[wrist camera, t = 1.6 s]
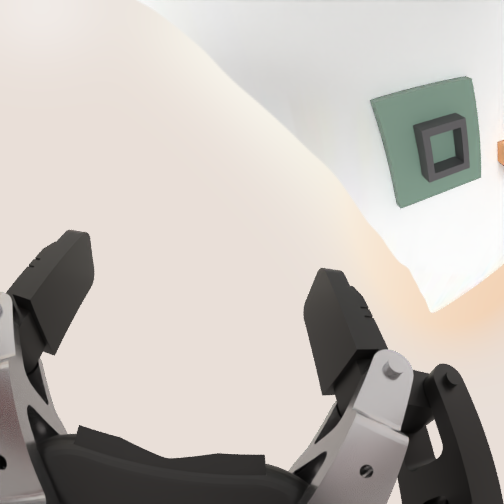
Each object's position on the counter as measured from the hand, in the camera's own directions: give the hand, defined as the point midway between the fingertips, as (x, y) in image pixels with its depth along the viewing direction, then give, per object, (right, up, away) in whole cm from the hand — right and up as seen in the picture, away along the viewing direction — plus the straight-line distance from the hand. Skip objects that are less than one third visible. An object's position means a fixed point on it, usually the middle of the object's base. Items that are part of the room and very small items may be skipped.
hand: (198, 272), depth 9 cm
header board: (+29, +18, +23) cm, 41 cm away
